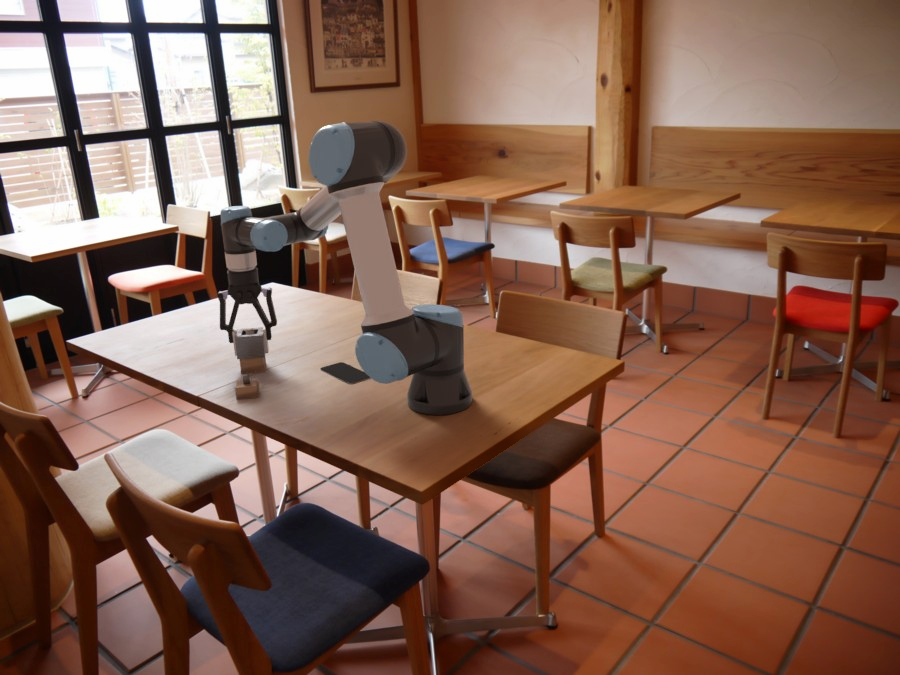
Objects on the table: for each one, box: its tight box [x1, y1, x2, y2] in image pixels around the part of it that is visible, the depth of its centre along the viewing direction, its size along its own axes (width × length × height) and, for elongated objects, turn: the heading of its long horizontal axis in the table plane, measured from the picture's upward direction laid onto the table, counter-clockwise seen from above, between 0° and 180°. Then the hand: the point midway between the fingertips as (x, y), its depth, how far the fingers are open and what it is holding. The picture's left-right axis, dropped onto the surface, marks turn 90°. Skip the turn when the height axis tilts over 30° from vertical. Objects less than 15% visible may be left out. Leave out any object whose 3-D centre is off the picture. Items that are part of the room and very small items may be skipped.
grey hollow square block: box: [235, 326, 267, 360], centre depth 195 cm, size 7×7×6 cm
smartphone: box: [320, 361, 371, 385], centre depth 193 cm, size 7×1×15 cm
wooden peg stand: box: [239, 327, 267, 375], centre depth 196 cm, size 6×6×11 cm
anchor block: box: [234, 373, 260, 400], centre depth 180 cm, size 5×5×5 cm
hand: (252, 352), depth 196 cm, fingers closed on grey hollow square block, 7 cm apart
